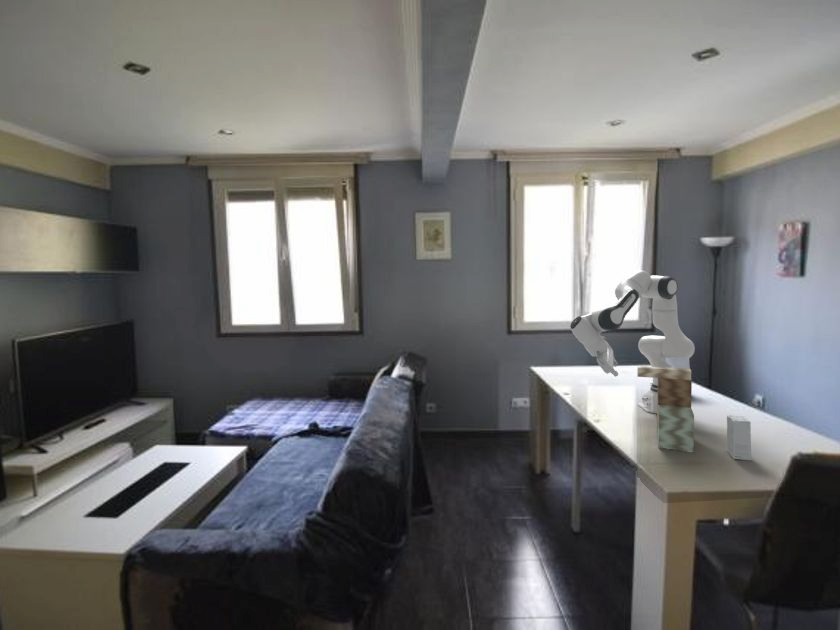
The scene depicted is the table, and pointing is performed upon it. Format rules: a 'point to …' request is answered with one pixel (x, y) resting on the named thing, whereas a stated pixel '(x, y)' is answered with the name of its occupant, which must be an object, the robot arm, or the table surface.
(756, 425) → the table surface
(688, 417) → the stepped stand
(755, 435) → the table surface
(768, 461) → the table surface
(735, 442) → the skincare box
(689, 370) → the birch batten
